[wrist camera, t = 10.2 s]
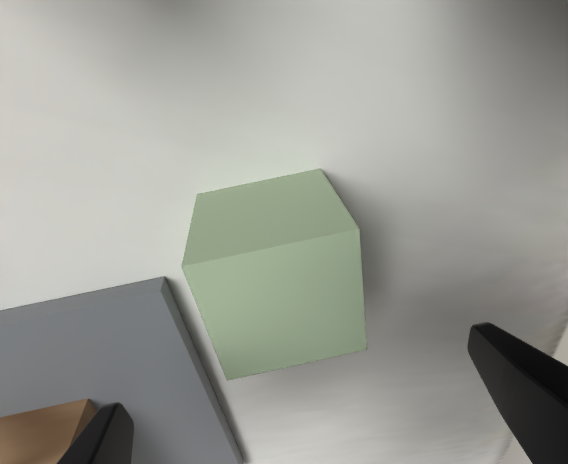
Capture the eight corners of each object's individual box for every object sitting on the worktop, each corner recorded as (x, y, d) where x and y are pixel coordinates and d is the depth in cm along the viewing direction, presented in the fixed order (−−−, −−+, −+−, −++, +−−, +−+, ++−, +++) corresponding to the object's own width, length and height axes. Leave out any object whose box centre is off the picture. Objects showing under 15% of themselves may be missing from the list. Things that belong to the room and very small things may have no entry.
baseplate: (164, 276, 15) (160, 291, 14) (243, 459, 24) (243, 475, 23) (-206, 353, 15) (-232, 373, 14) (7, 513, 23) (-2, 532, 22)
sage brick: (319, 167, 14) (359, 228, 10) (331, 266, 16) (367, 349, 12) (197, 193, 14) (181, 266, 9) (228, 288, 16) (227, 380, 12)
